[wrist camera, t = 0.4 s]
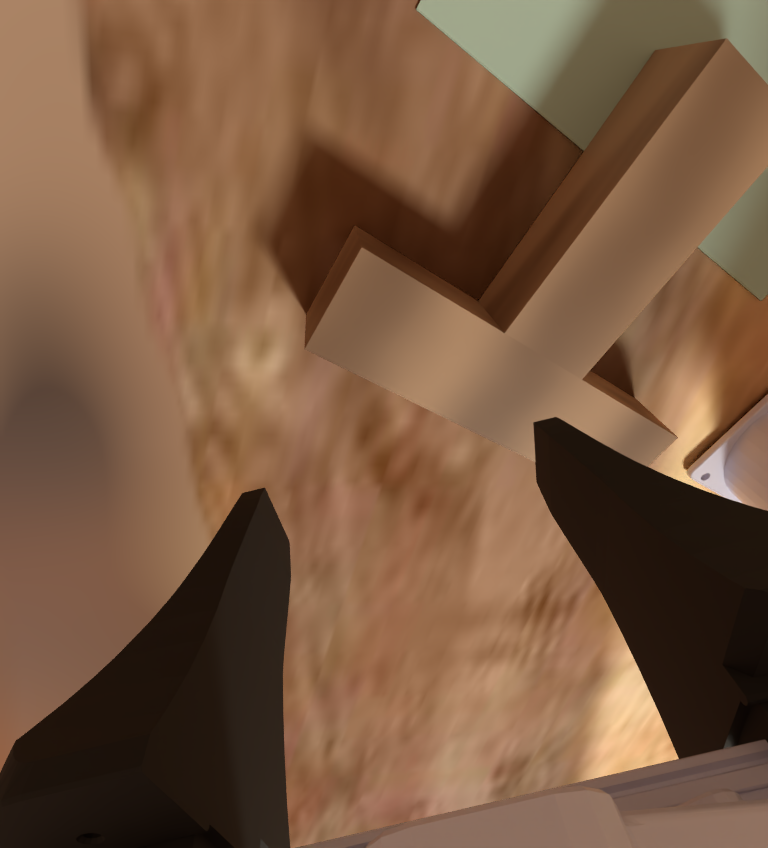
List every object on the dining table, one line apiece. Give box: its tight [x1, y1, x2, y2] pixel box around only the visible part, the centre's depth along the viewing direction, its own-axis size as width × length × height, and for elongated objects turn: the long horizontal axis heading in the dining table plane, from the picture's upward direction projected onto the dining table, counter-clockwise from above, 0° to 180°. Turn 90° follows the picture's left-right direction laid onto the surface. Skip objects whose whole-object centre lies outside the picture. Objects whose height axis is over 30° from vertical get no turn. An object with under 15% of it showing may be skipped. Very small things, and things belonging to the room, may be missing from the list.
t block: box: [305, 38, 768, 467], centre depth 19 cm, size 16×14×4 cm
